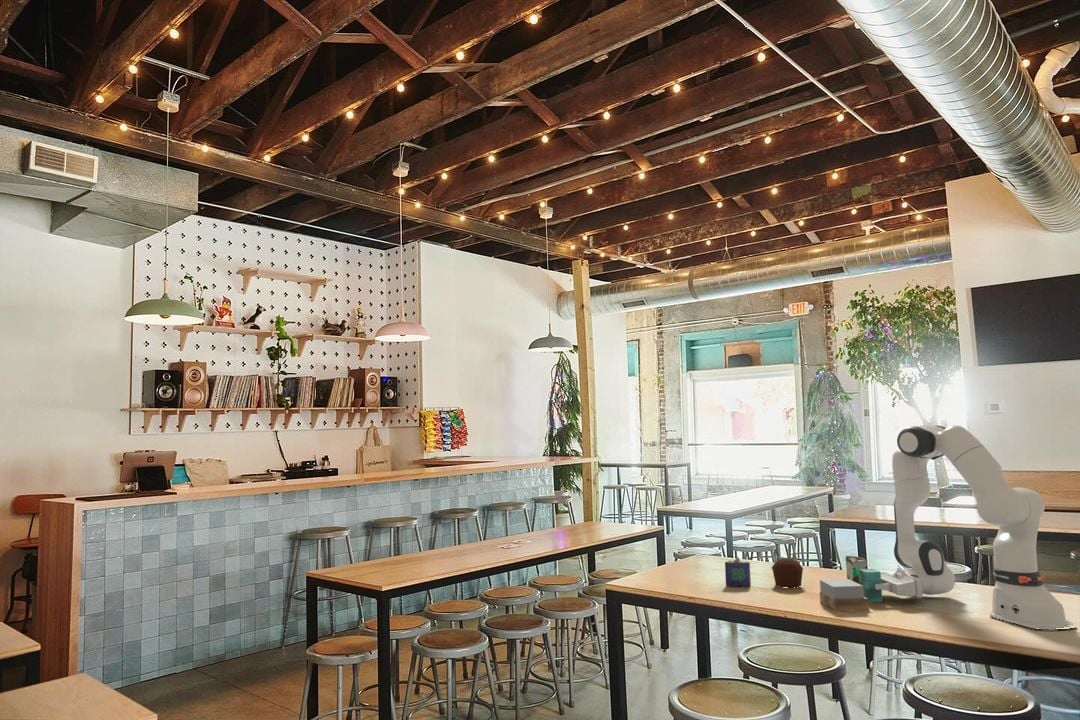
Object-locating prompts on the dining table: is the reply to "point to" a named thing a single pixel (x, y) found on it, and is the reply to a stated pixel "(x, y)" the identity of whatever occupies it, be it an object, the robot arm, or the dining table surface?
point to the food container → (854, 567)
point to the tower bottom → (844, 603)
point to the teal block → (870, 584)
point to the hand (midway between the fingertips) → (867, 583)
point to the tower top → (842, 589)
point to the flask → (737, 573)
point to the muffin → (787, 573)
